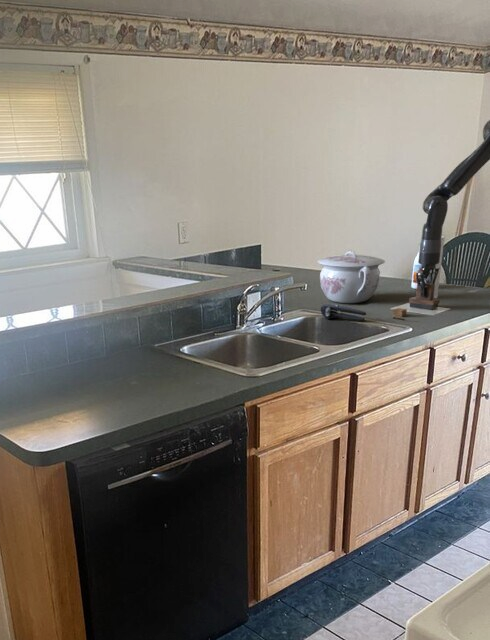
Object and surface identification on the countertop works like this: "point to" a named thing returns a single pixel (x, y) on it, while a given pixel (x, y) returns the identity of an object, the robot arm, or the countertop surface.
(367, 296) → the chamber pot
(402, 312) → the cork block
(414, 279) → the milk bottle
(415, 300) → the brown branching block
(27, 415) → the countertop surface
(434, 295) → the cylindrical container
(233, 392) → the countertop surface
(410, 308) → the tile
